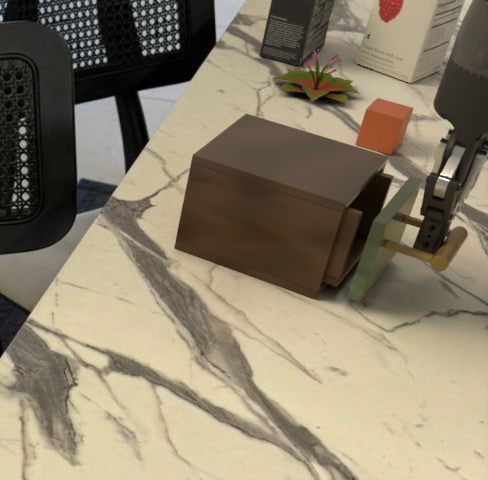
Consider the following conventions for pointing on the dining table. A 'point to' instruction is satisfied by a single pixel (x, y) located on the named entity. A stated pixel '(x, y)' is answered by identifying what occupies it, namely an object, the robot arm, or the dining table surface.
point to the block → (384, 126)
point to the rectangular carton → (408, 37)
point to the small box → (295, 29)
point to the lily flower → (317, 82)
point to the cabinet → (272, 201)
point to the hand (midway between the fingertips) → (425, 252)
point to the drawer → (382, 235)
